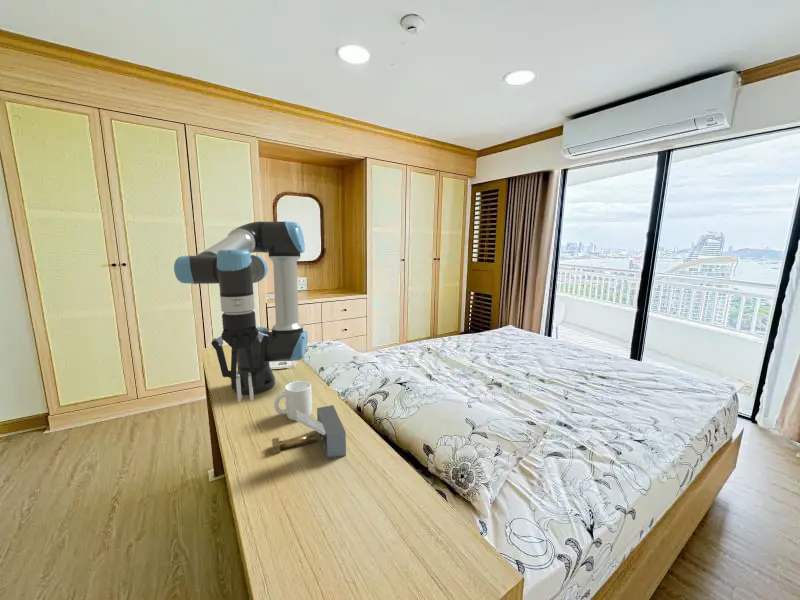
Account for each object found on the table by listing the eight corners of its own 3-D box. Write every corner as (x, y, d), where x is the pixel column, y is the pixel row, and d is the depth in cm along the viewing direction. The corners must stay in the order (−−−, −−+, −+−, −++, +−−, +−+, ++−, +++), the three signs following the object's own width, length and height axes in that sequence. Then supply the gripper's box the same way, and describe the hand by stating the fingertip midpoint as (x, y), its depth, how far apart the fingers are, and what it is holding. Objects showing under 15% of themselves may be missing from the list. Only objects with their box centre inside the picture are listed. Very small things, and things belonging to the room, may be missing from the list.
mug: (277, 426, 104) (275, 396, 103) (272, 415, 111) (271, 386, 110) (315, 417, 110) (314, 387, 108) (308, 406, 117) (307, 378, 115)
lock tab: (293, 411, 89) (295, 409, 89) (320, 425, 92) (322, 423, 92) (295, 420, 84) (297, 418, 84) (324, 435, 88) (325, 433, 88)
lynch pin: (273, 454, 91) (272, 446, 90) (272, 446, 94) (272, 438, 94) (317, 444, 95) (316, 437, 95) (314, 437, 99) (314, 429, 99)
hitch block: (317, 429, 103) (316, 408, 102) (333, 425, 105) (333, 405, 104) (327, 459, 89) (326, 435, 87) (346, 455, 91) (345, 431, 89)
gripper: (201, 317, 77) (211, 411, 81) (271, 312, 83) (277, 400, 87) (205, 311, 84) (214, 398, 88) (270, 306, 90) (275, 388, 94)
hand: (245, 398), depth 88 cm, fingers open, 2 cm apart
